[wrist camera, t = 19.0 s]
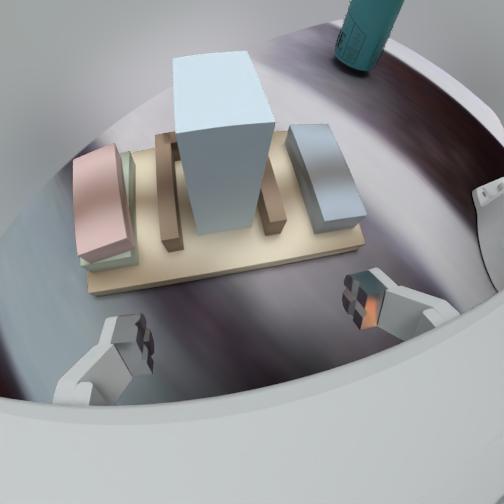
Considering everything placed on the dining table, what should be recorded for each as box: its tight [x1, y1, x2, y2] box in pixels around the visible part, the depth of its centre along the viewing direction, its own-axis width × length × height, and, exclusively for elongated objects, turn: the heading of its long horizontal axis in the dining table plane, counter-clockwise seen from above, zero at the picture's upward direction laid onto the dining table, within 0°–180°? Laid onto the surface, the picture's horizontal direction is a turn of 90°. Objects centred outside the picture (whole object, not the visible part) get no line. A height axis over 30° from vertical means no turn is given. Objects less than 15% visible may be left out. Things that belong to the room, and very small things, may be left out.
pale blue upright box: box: [173, 51, 276, 235], centre depth 16 cm, size 6×4×11 cm, turn 12°
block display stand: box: [73, 124, 367, 296], centre depth 20 cm, size 12×22×6 cm, turn 102°
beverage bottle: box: [334, 0, 404, 71], centre depth 22 cm, size 6×7×20 cm
